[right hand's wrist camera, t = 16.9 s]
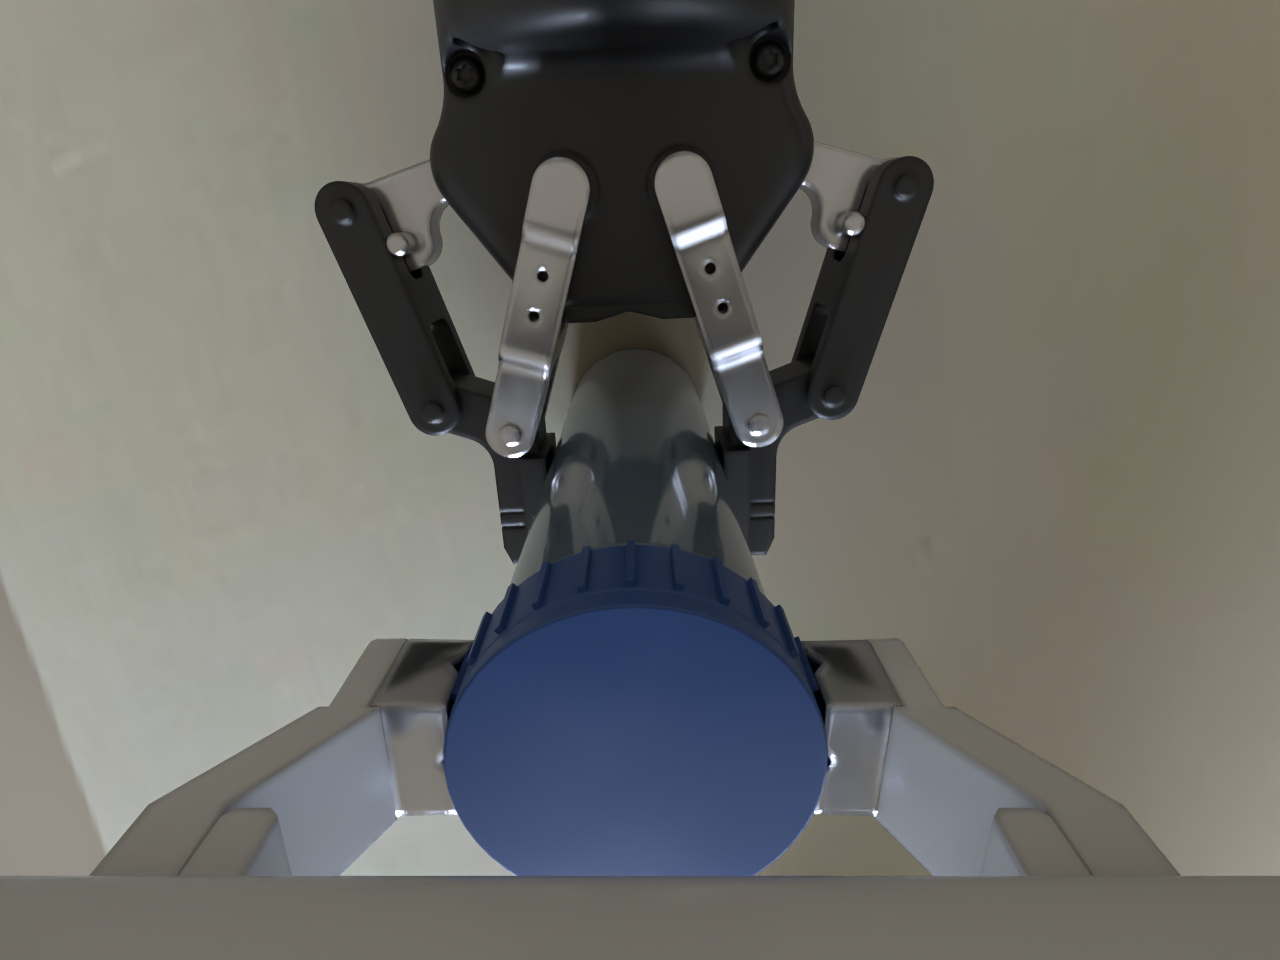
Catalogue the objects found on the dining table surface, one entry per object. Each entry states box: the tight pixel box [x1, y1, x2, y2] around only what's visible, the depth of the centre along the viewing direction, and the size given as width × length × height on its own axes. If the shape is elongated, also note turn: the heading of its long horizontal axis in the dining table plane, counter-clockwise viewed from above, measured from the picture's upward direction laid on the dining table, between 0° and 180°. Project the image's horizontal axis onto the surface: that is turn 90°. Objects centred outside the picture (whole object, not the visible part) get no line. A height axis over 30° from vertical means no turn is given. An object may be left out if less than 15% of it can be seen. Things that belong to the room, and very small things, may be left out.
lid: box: [443, 540, 828, 876], centre depth 10 cm, size 5×5×2 cm
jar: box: [510, 349, 766, 597], centre depth 17 cm, size 4×4×16 cm
